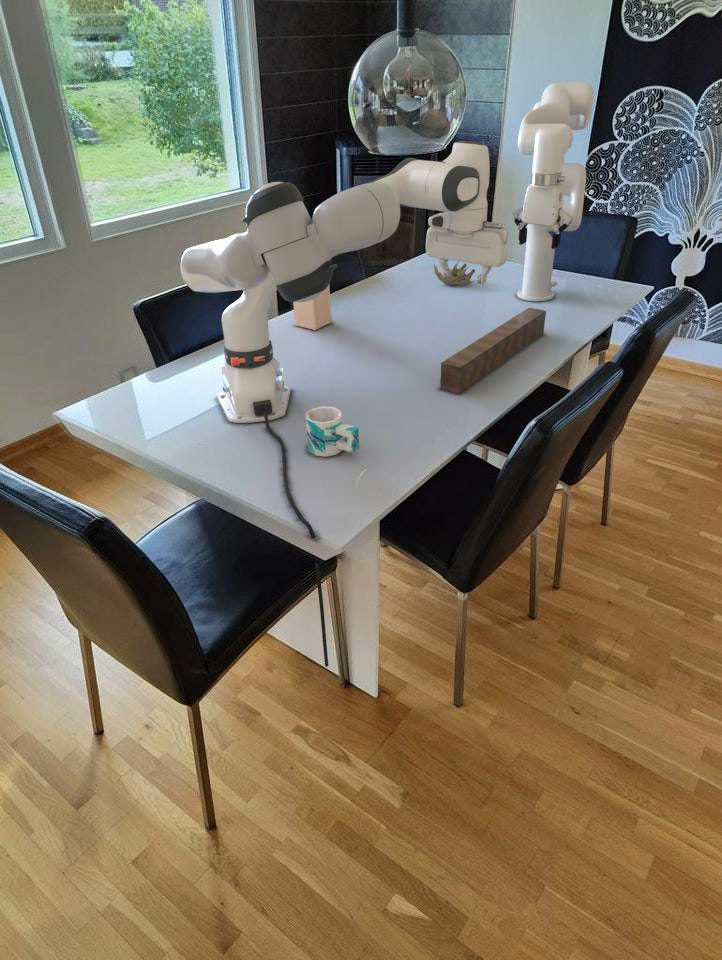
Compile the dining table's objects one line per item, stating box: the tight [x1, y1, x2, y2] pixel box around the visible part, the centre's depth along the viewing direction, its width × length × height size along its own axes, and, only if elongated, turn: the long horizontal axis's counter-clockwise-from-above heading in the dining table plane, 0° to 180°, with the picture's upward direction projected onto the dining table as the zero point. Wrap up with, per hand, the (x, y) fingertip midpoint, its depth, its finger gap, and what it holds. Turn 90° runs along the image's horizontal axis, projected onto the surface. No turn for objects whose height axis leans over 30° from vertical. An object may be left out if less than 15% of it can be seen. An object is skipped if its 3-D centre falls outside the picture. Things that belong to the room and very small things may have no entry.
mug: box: [305, 405, 360, 458], centre depth 147 cm, size 8×12×8 cm
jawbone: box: [433, 261, 476, 286], centre depth 246 cm, size 9×15×10 cm
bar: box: [439, 307, 547, 395], centre depth 187 cm, size 50×6×7 cm, turn 143°
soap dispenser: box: [292, 260, 333, 331], centre depth 211 cm, size 13×9×22 cm
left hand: (464, 280), depth 161 cm, fingers open, 8 cm apart
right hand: (538, 245), depth 188 cm, fingers open, 9 cm apart
